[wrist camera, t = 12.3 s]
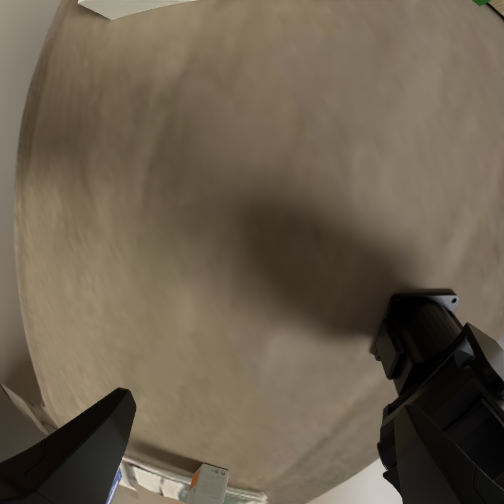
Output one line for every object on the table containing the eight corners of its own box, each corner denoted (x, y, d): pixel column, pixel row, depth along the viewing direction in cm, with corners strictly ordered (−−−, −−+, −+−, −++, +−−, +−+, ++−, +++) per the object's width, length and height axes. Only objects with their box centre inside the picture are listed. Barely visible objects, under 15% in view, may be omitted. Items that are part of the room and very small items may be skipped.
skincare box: (202, 461, 33) (184, 531, 22) (230, 470, 33) (217, 538, 22) (192, 473, 36) (176, 534, 25) (218, 480, 36) (205, 541, 25)
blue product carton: (122, 476, 42) (104, 519, 31) (110, 470, 42) (91, 513, 31) (119, 464, 39) (98, 512, 28) (105, 458, 39) (84, 505, 28)
